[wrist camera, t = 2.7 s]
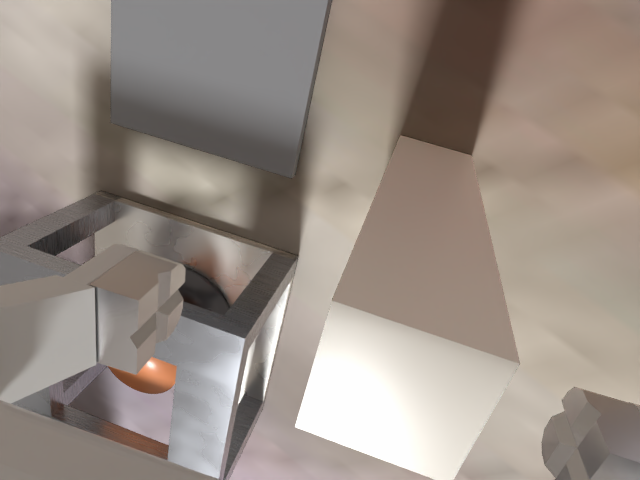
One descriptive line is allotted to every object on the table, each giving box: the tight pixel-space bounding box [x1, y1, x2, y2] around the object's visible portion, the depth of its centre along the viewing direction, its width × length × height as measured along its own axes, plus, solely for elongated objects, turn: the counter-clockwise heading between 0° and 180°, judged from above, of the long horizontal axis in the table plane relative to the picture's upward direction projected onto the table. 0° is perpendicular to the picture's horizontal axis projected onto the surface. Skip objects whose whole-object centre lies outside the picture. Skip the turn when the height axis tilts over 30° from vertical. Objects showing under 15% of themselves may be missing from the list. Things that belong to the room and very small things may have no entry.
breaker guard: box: [0, 191, 299, 480], centre depth 22 cm, size 11×11×7 cm
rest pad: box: [111, 0, 332, 178], centre depth 19 cm, size 9×9×1 cm
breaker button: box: [108, 357, 177, 394], centre depth 22 cm, size 4×4×2 cm
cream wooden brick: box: [295, 135, 520, 480], centre depth 13 cm, size 3×3×13 cm
